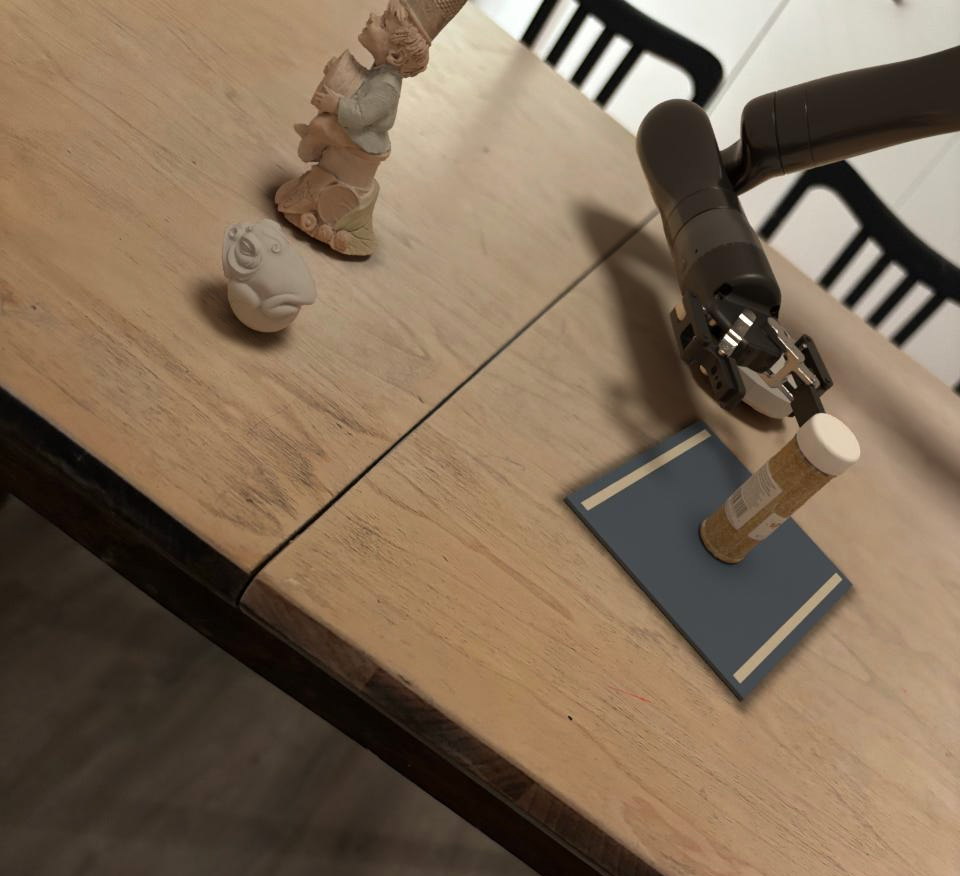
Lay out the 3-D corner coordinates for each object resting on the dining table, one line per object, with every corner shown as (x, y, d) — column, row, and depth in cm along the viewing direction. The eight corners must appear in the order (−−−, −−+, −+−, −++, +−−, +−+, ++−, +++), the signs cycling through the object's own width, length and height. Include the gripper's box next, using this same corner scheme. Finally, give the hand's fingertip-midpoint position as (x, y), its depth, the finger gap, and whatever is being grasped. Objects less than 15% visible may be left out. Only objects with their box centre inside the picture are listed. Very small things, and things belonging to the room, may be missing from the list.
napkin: (698, 421, 89) (701, 418, 89) (849, 587, 87) (853, 584, 86) (563, 499, 74) (566, 496, 74) (740, 701, 72) (744, 698, 72)
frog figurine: (227, 270, 70) (255, 188, 65) (312, 326, 71) (346, 249, 66) (185, 310, 66) (211, 226, 61) (276, 369, 67) (309, 291, 62)
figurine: (378, 214, 82) (489, -24, 67) (370, 275, 77) (487, 33, 63) (276, 166, 79) (369, -95, 64) (260, 227, 74) (357, -41, 59)
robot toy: (702, 312, 102) (678, 372, 91) (731, 277, 99) (709, 335, 88) (794, 382, 103) (780, 450, 93) (825, 350, 100) (815, 416, 90)
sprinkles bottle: (740, 574, 79) (864, 470, 69) (695, 548, 78) (814, 438, 68) (743, 536, 82) (862, 431, 72) (698, 510, 81) (813, 400, 71)
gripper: (686, 213, 79) (738, 357, 70) (814, 268, 85) (876, 406, 77) (632, 285, 84) (675, 426, 76) (756, 331, 91) (808, 466, 82)
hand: (776, 416), depth 76 cm, fingers open, 8 cm apart
